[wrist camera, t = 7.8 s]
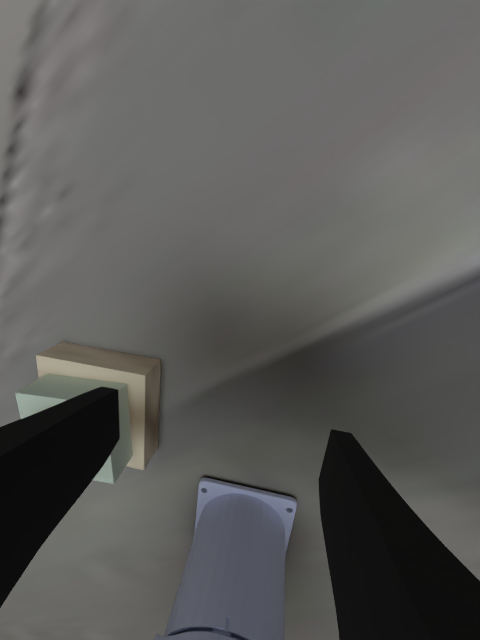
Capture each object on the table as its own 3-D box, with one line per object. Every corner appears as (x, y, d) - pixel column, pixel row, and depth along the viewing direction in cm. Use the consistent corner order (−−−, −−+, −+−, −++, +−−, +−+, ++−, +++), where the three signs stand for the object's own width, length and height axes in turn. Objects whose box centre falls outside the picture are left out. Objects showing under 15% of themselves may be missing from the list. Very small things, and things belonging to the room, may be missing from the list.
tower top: (133, 455, 21) (113, 483, 19) (59, 443, 22) (32, 469, 19) (126, 383, 19) (104, 404, 17) (47, 373, 20) (15, 392, 18)
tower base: (160, 442, 24) (143, 470, 21) (74, 423, 25) (46, 448, 22) (163, 356, 22) (145, 375, 19) (67, 339, 23) (36, 355, 20)
